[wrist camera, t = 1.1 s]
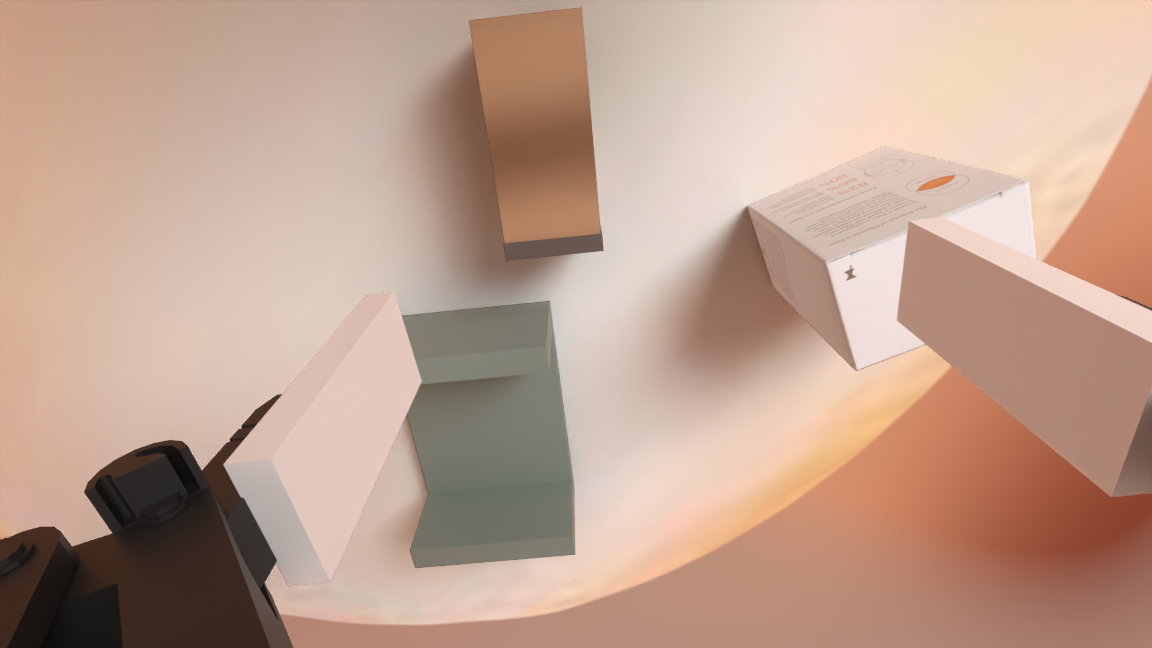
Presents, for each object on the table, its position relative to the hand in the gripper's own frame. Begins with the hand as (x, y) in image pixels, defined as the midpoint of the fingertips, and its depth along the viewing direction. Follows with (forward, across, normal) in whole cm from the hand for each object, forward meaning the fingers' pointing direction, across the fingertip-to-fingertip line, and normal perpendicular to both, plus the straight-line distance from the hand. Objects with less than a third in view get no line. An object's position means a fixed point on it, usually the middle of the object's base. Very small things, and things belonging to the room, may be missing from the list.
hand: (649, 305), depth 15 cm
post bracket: (+18, -10, -14) cm, 24 cm away
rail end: (+18, -3, +3) cm, 18 cm away
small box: (+18, +12, -4) cm, 22 cm away
